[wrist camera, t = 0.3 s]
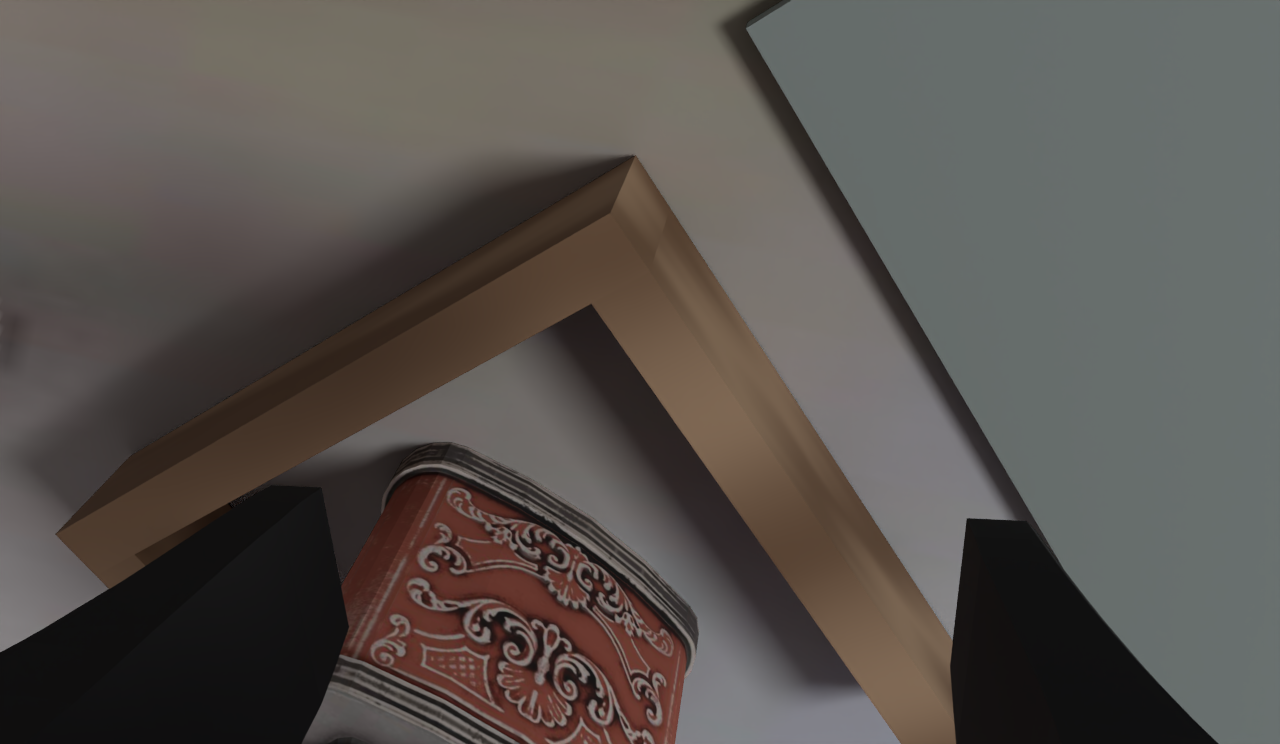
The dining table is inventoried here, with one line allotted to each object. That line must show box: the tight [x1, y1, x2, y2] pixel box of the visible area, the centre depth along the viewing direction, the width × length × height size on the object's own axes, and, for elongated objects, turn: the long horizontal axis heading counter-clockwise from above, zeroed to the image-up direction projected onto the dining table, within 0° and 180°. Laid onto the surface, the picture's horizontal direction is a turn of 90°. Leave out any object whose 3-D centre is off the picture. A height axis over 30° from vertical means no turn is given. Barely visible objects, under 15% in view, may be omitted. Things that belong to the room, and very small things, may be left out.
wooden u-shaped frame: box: [56, 155, 956, 744], centre depth 25 cm, size 14×14×3 cm
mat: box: [746, 0, 1280, 744], centre depth 22 cm, size 20×9×1 cm, turn 33°
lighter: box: [302, 443, 699, 744], centre depth 22 cm, size 8×3×10 cm, turn 52°
